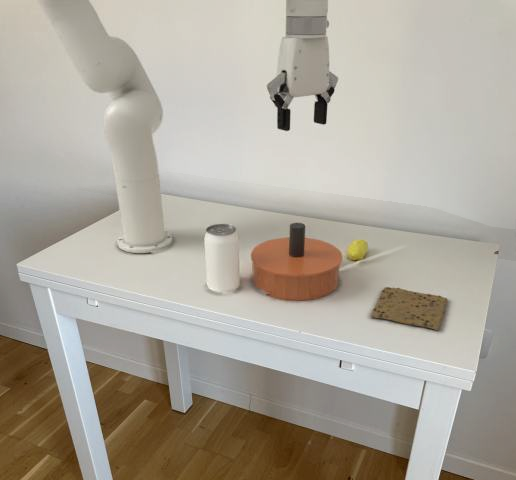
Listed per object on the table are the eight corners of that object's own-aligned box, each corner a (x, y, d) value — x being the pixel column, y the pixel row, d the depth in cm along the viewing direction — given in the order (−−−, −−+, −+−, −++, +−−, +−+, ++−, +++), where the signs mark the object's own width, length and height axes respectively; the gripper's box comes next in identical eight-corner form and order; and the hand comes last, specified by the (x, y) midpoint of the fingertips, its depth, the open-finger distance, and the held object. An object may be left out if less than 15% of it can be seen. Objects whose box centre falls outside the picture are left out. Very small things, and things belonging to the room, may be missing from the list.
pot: (235, 277, 111) (235, 253, 108) (299, 255, 119) (300, 233, 117) (290, 309, 99) (290, 284, 96) (355, 283, 108) (358, 259, 105)
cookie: (439, 331, 93) (440, 326, 92) (370, 317, 97) (370, 312, 96) (447, 300, 102) (448, 295, 101) (384, 288, 106) (384, 284, 105)
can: (227, 297, 103) (225, 238, 97) (200, 289, 106) (196, 231, 100) (246, 284, 108) (245, 227, 101) (219, 276, 111) (217, 220, 104)
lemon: (371, 253, 121) (373, 236, 118) (360, 266, 115) (361, 249, 113) (353, 249, 122) (354, 233, 120) (341, 262, 116) (342, 246, 114)
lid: (233, 256, 108) (232, 222, 104) (300, 235, 117) (302, 203, 113) (290, 289, 96) (292, 252, 92) (361, 263, 105) (365, 228, 101)
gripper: (326, 25, 106) (320, 118, 115) (256, 29, 97) (256, 129, 107) (353, 27, 101) (345, 124, 110) (282, 31, 92) (280, 135, 102)
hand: (302, 126), depth 108 cm, fingers open, 9 cm apart
